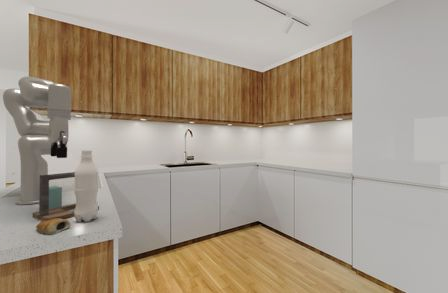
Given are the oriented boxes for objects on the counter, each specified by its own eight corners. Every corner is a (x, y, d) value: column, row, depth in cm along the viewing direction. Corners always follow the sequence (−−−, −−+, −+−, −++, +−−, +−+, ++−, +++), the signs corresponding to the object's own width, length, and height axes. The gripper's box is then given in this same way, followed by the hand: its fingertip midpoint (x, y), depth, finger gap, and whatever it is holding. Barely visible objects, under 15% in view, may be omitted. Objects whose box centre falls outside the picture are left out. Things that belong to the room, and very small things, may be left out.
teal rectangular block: (40, 209, 86) (40, 188, 86) (54, 206, 90) (54, 186, 90) (47, 211, 83) (47, 189, 83) (61, 208, 88) (61, 187, 88)
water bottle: (86, 224, 70) (86, 151, 70) (68, 222, 72) (69, 150, 72) (102, 217, 78) (103, 150, 77) (86, 215, 79) (86, 150, 79)
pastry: (28, 232, 64) (28, 220, 64) (51, 225, 70) (52, 213, 70) (51, 236, 61) (51, 223, 62) (73, 228, 68) (73, 216, 68)
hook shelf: (32, 216, 77) (32, 173, 77) (81, 205, 92) (81, 169, 92) (49, 223, 71) (49, 176, 71) (98, 209, 86) (99, 171, 86)
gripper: (42, 115, 87) (42, 155, 88) (53, 112, 76) (52, 159, 77) (64, 117, 93) (63, 155, 93) (77, 115, 82) (76, 158, 82)
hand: (58, 157), depth 85 cm, fingers open, 9 cm apart
